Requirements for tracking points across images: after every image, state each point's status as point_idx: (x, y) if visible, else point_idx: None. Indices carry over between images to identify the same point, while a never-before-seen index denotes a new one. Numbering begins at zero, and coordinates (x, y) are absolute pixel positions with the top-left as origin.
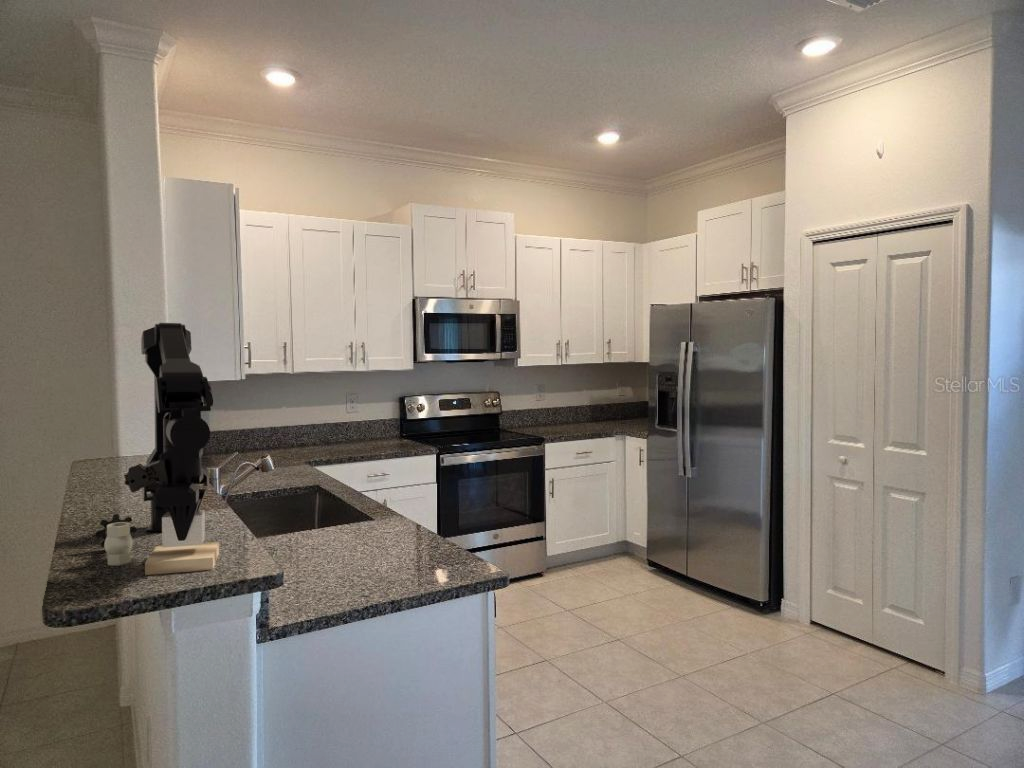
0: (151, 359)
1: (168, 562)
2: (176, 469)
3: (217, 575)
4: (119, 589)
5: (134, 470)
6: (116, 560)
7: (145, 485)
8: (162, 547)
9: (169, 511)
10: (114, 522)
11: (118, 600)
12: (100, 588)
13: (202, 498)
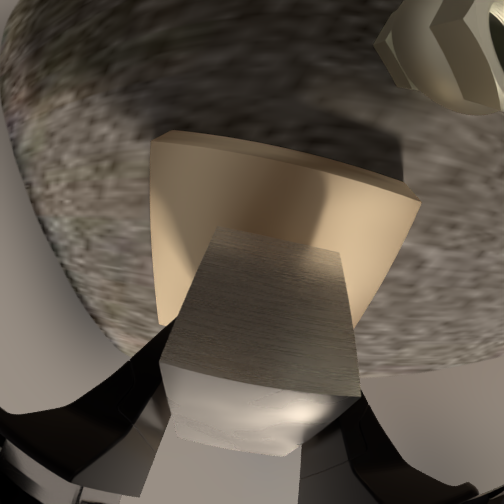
0: None
1: (152, 219)
2: None
3: (126, 296)
4: (66, 82)
5: None
6: (383, 33)
7: None
8: (219, 226)
9: (64, 406)
10: None
11: (12, 109)
12: (90, 26)
13: (298, 500)
